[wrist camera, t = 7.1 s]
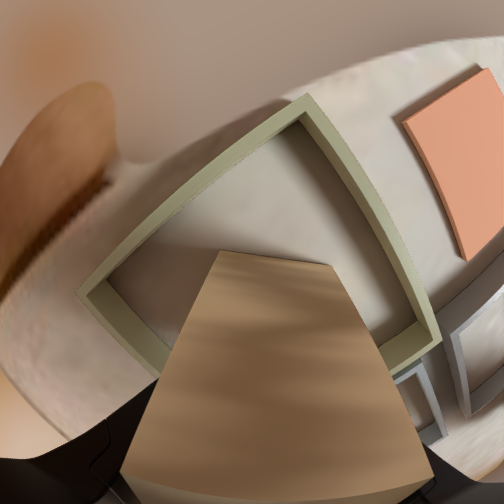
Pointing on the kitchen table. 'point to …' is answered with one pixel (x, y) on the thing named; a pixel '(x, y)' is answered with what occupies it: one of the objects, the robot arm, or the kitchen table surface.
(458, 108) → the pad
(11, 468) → the robot arm
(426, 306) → the tray olive
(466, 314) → the tray charcoal
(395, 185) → the kitchen table surface
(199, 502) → the letter block
